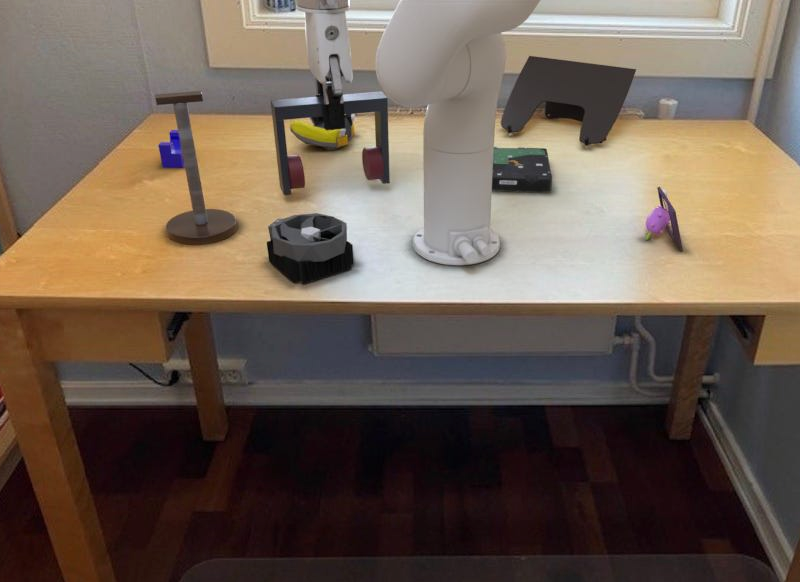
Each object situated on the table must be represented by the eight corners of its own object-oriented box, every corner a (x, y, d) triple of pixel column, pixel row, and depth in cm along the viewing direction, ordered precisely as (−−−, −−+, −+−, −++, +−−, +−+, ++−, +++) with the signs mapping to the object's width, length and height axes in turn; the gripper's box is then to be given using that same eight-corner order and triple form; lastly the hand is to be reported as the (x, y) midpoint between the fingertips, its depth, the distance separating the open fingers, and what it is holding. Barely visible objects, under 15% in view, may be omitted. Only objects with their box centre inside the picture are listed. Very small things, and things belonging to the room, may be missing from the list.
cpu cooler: (360, 231, 104) (291, 251, 99) (362, 269, 107) (296, 290, 102) (322, 205, 111) (256, 222, 106) (325, 241, 114) (261, 260, 109)
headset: (391, 185, 128) (389, 99, 121) (284, 197, 123) (275, 108, 115) (382, 173, 132) (379, 89, 124) (279, 185, 127) (269, 98, 119)
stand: (241, 239, 114) (221, 101, 103) (169, 249, 111) (140, 108, 100) (232, 212, 122) (212, 81, 110) (165, 220, 119) (137, 86, 107)
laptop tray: (495, 157, 160) (490, 124, 153) (531, 82, 170) (528, 46, 163) (605, 176, 153) (605, 142, 146) (635, 96, 163) (637, 60, 156)
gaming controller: (289, 152, 144) (342, 155, 143) (286, 123, 141) (340, 126, 140) (310, 126, 156) (359, 129, 156) (307, 99, 153) (358, 101, 152)
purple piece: (680, 209, 110) (664, 184, 118) (644, 220, 111) (630, 195, 118) (688, 249, 114) (671, 223, 121) (652, 260, 115) (638, 233, 122)
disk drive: (552, 194, 131) (545, 161, 143) (553, 178, 129) (546, 146, 141) (490, 193, 131) (488, 160, 143) (491, 177, 129) (489, 145, 141)
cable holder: (183, 167, 136) (178, 145, 134) (162, 167, 136) (158, 145, 134) (195, 151, 143) (191, 130, 141) (175, 151, 143) (171, 129, 141)
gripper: (363, 8, 107) (368, 139, 117) (335, -14, 119) (342, 106, 130) (308, 10, 104) (319, 144, 115) (285, -12, 117) (297, 110, 127)
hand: (331, 123), depth 122 cm, fingers closed on headset, 3 cm apart
